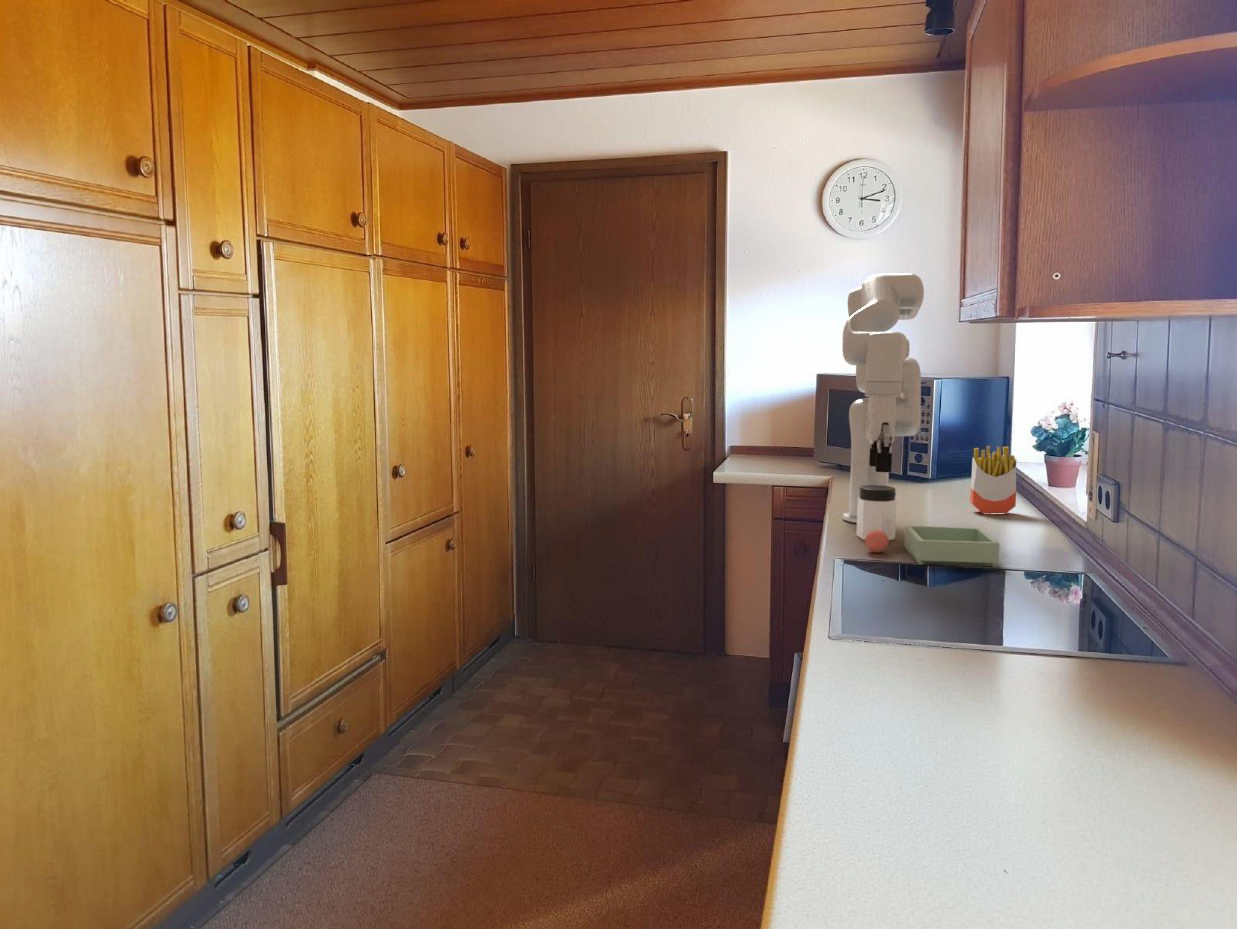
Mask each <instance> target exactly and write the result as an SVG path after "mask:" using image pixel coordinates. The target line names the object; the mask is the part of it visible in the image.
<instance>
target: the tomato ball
mask: <svg viewBox="0 0 1237 929" xmlns="http://www.w3.org/2000/svg"><path fill="white" fill-rule="evenodd" d="M889 542H890V540H888V537H887V535H886V534H885V533H884V532H883V531H880V530H873V531H871V532H869V533H868V534H867V536H866V538H865V540H864V544H865V546H866V549H868V550H869V551H870V552H872V553H876V554H878V553H883V552H884V551H886V550H887V548H888V546H889Z"/></svg>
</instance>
